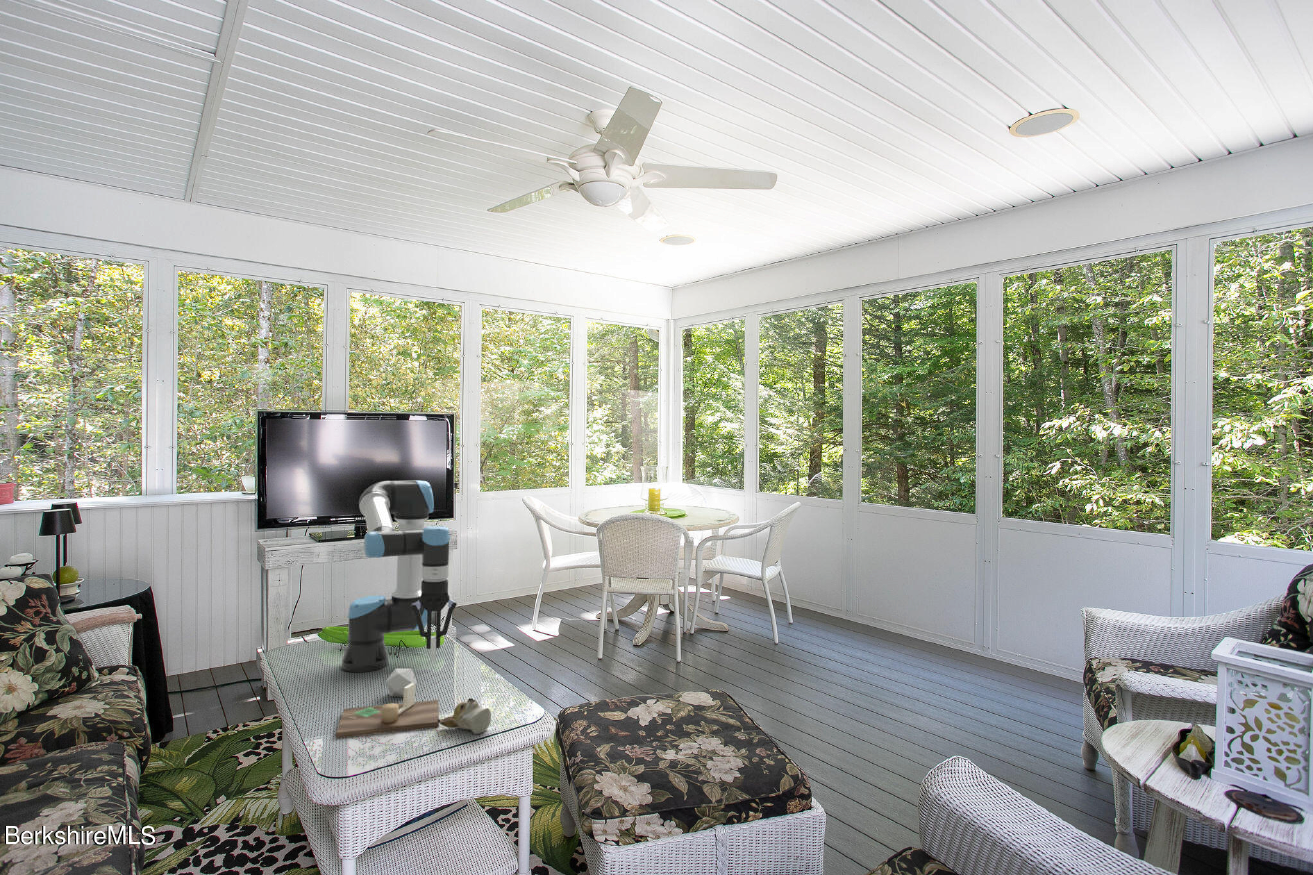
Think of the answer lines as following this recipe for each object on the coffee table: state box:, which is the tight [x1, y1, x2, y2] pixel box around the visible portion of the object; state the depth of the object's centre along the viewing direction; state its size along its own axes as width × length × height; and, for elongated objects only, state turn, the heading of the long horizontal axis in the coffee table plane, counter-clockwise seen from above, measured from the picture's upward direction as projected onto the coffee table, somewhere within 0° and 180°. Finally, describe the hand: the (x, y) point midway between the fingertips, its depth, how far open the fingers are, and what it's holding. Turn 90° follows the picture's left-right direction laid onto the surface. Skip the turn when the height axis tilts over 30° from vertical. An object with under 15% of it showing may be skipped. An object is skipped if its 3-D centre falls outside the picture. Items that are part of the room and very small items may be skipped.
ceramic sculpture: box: [437, 697, 492, 735], centre depth 184 cm, size 11×9×15 cm
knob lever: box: [381, 683, 416, 723], centre depth 189 cm, size 14×4×6 cm, turn 169°
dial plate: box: [335, 699, 440, 739], centre depth 188 cm, size 16×26×2 cm, turn 109°
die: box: [384, 668, 418, 698], centre depth 206 cm, size 8×9×10 cm
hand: (432, 659), depth 195 cm, fingers closed
